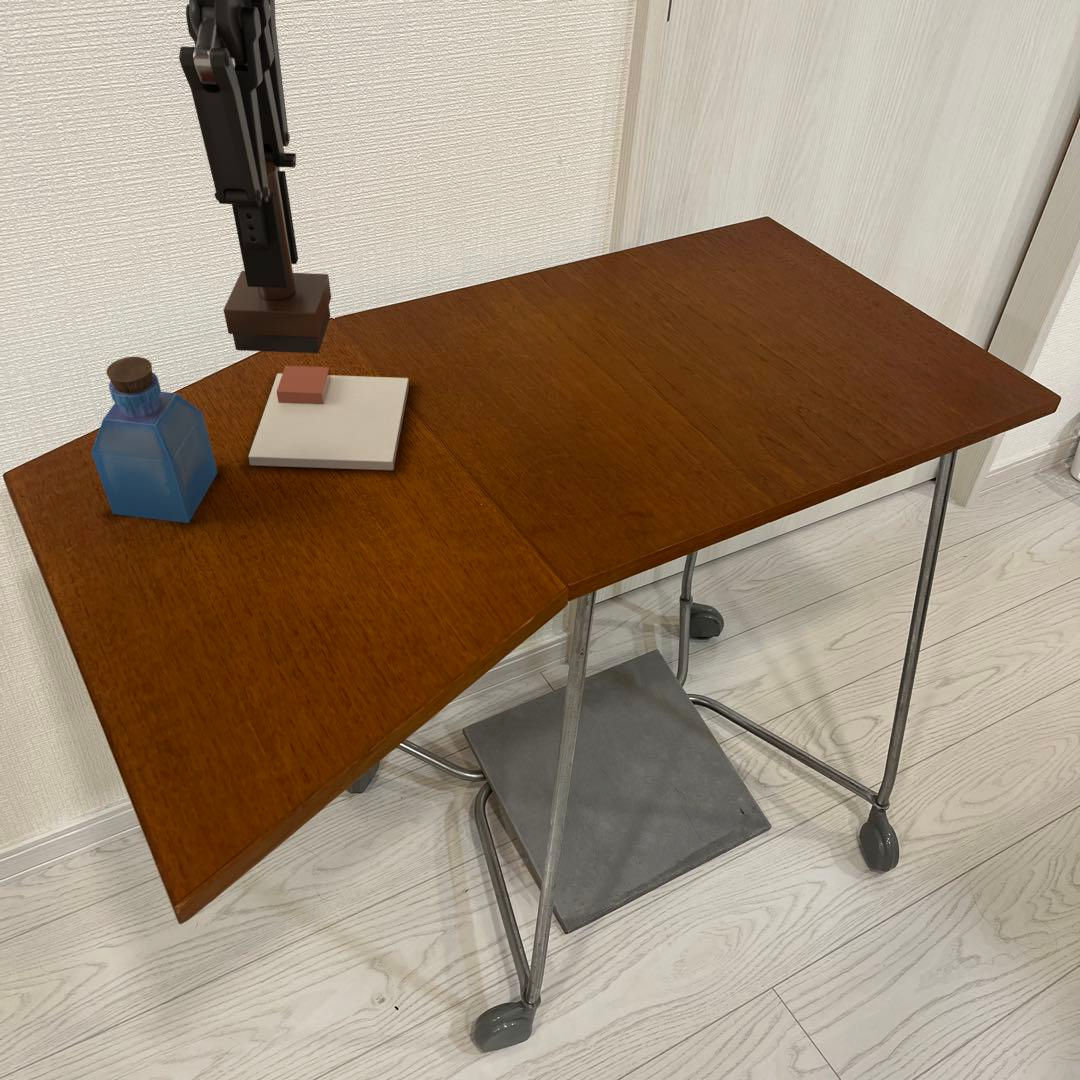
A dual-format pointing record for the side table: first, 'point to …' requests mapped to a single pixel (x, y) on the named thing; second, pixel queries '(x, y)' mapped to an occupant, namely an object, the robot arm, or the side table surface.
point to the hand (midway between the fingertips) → (273, 271)
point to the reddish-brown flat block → (303, 385)
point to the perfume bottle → (152, 447)
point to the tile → (334, 426)
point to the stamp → (280, 304)
